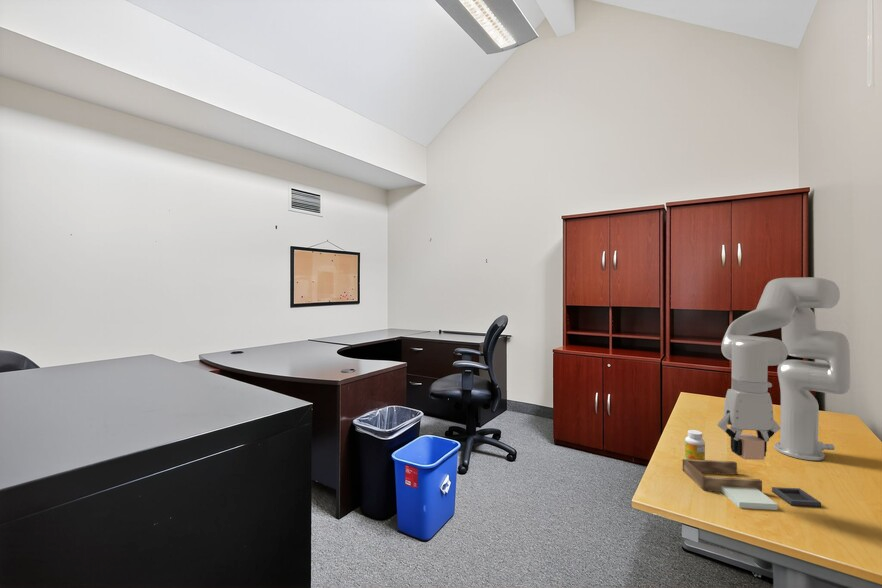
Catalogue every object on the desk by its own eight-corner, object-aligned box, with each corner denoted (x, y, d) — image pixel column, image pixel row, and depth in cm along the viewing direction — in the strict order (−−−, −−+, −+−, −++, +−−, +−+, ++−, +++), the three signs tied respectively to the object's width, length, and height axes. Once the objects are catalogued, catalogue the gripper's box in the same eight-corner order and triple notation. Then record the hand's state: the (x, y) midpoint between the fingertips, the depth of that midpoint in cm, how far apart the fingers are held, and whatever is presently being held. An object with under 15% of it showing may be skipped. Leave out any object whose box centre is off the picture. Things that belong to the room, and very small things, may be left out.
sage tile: (756, 493, 108) (756, 487, 108) (777, 509, 100) (777, 504, 100) (721, 491, 109) (721, 486, 109) (739, 507, 101) (739, 502, 101)
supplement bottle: (681, 458, 130) (681, 429, 130) (696, 457, 130) (696, 428, 130) (693, 465, 125) (693, 435, 124) (708, 464, 125) (709, 434, 125)
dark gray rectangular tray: (799, 492, 108) (799, 488, 108) (821, 507, 101) (821, 502, 101) (771, 491, 109) (772, 487, 109) (791, 505, 102) (791, 501, 102)
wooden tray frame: (734, 472, 120) (734, 461, 120) (762, 493, 108) (762, 481, 108) (682, 470, 121) (682, 459, 121) (703, 490, 109) (703, 478, 109)
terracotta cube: (750, 451, 107) (750, 433, 107) (764, 459, 102) (764, 440, 102) (731, 451, 107) (731, 433, 107) (744, 459, 102) (744, 440, 102)
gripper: (773, 383, 106) (773, 449, 107) (706, 382, 108) (706, 446, 109) (795, 390, 99) (794, 461, 99) (722, 389, 101) (722, 458, 101)
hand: (748, 453), depth 104 cm, fingers closed on terracotta cube, 5 cm apart
